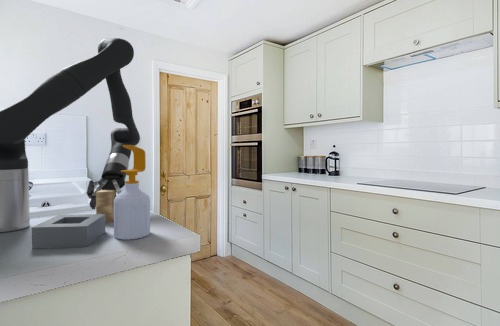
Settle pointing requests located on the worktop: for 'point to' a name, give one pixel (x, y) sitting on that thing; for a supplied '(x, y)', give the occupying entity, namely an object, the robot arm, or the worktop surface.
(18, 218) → the robot arm
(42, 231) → the well
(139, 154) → the soap bottle
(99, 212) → the oak post
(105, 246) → the worktop surface
